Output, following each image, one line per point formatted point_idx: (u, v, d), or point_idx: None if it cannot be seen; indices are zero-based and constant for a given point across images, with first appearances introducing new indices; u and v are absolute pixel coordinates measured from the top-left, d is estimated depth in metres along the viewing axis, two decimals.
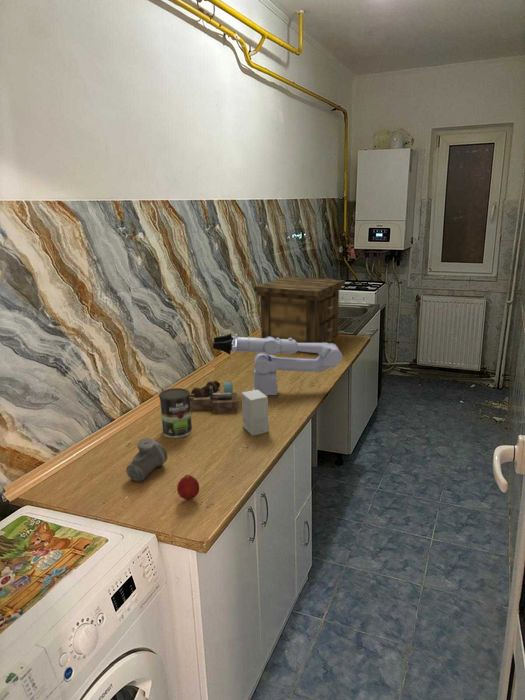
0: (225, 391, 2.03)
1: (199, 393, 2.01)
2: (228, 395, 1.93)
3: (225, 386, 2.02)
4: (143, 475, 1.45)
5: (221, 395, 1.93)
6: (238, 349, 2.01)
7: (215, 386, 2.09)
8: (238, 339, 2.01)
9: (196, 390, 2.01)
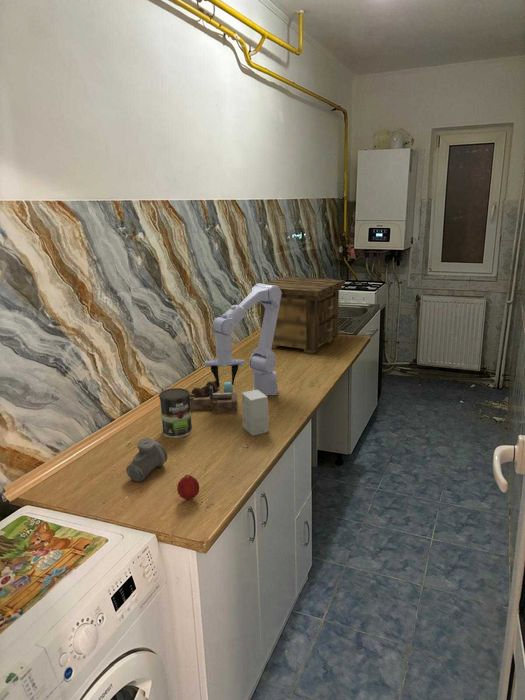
0: (225, 391, 2.03)
1: (199, 393, 2.01)
2: (228, 395, 1.93)
3: (225, 386, 2.02)
4: (143, 475, 1.45)
5: (221, 395, 1.93)
6: None
7: (215, 386, 2.09)
8: (228, 361, 1.88)
9: (196, 390, 2.01)
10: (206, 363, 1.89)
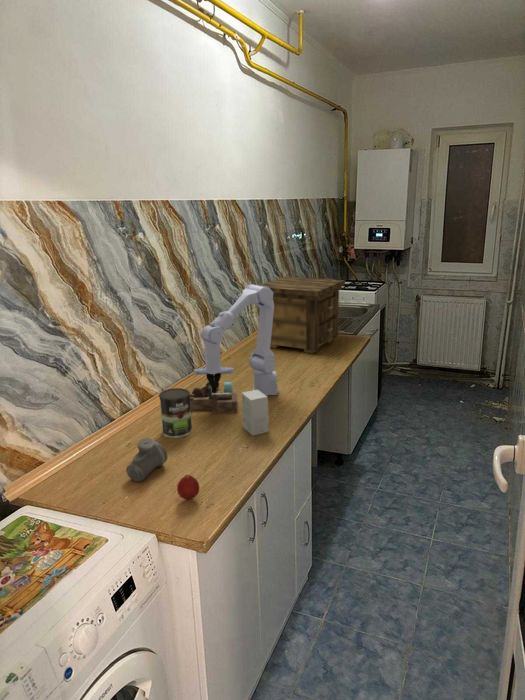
0: (225, 391, 2.03)
1: (200, 393, 2.01)
2: (227, 395, 1.93)
3: (225, 386, 2.02)
4: (143, 475, 1.45)
5: (220, 395, 1.93)
6: None
7: None
8: (217, 369, 1.88)
9: (197, 390, 2.01)
10: (195, 371, 1.90)
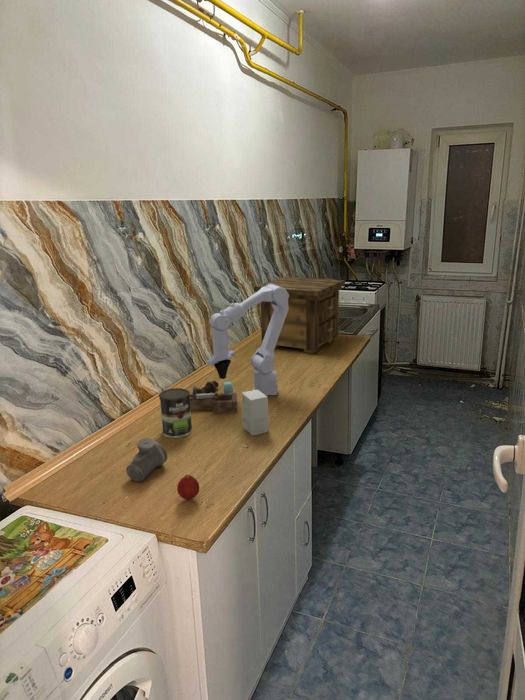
0: (225, 391, 2.03)
1: (201, 393, 2.00)
2: (212, 396, 1.93)
3: (225, 386, 2.02)
4: (143, 475, 1.45)
5: (204, 396, 1.93)
6: None
7: (214, 386, 2.10)
8: (228, 354, 1.97)
9: (198, 390, 2.01)
10: (212, 361, 1.91)
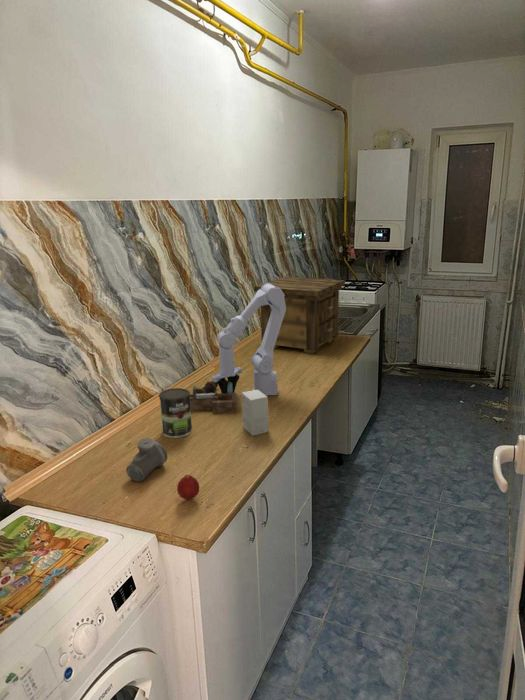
0: None
1: (202, 393, 2.00)
2: (212, 396, 1.93)
3: None
4: (143, 475, 1.45)
5: (204, 396, 1.93)
6: None
7: (214, 386, 2.10)
8: (234, 371, 2.01)
9: (198, 391, 2.01)
10: (216, 378, 1.97)
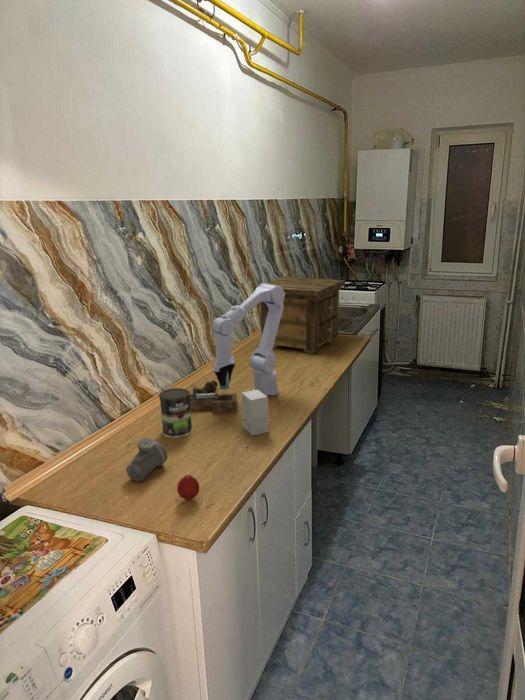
0: None
1: (202, 393, 2.00)
2: (212, 396, 1.93)
3: None
4: (143, 475, 1.45)
5: (204, 396, 1.93)
6: None
7: (214, 386, 2.10)
8: (231, 358, 1.94)
9: (199, 391, 2.01)
10: (218, 367, 1.87)
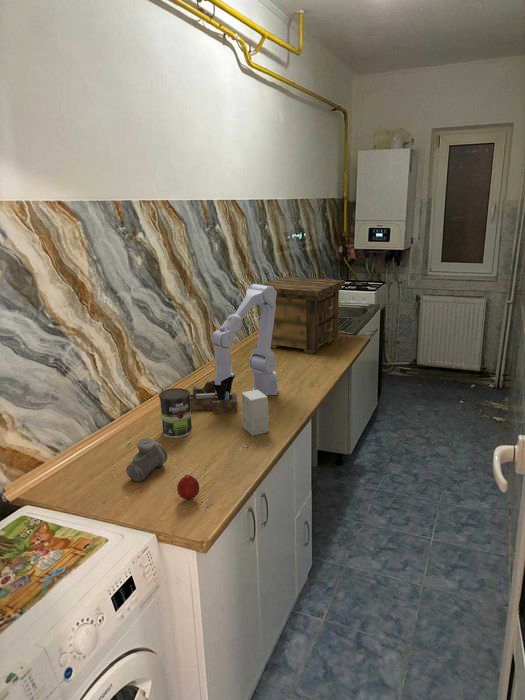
0: None
1: (203, 393, 2.00)
2: (212, 396, 1.93)
3: None
4: (143, 475, 1.45)
5: (204, 396, 1.93)
6: None
7: None
8: None
9: (199, 391, 2.00)
10: (220, 380, 1.85)
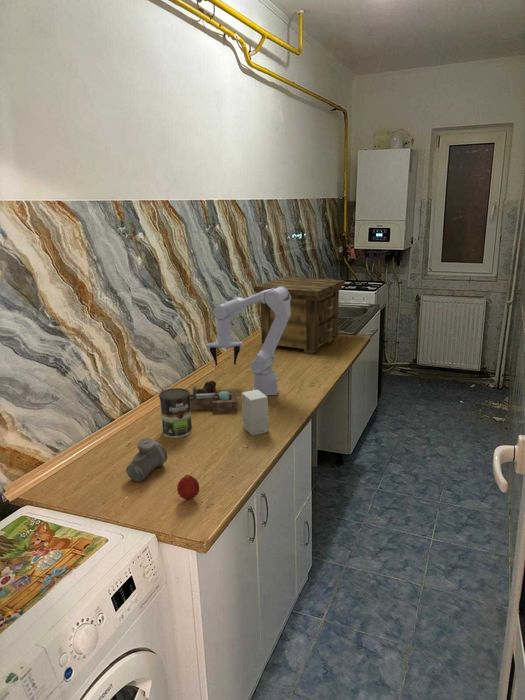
0: None
1: (204, 393, 2.00)
2: (212, 396, 1.93)
3: (223, 396, 1.92)
4: (143, 475, 1.45)
5: (204, 396, 1.93)
6: None
7: (214, 386, 2.10)
8: (228, 343, 2.09)
9: (200, 391, 2.00)
10: (208, 345, 2.10)
